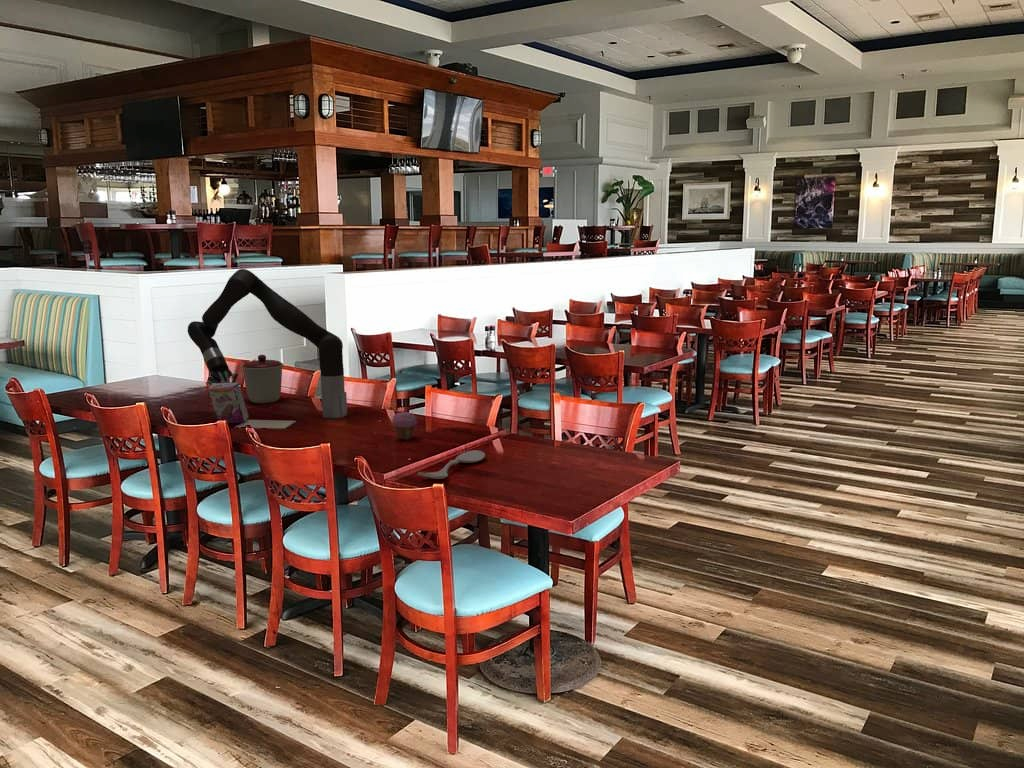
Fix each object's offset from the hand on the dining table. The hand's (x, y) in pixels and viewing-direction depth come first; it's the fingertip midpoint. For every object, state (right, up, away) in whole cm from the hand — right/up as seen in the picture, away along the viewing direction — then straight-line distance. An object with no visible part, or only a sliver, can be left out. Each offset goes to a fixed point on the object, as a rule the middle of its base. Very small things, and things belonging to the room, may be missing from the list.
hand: (230, 395), depth 324 cm
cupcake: (+72, -16, -24) cm, 77 cm away
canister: (+1, -3, +43) cm, 43 cm away
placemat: (+14, -12, -1) cm, 18 cm away
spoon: (+93, -23, -63) cm, 115 cm away
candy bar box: (+1, -10, +2) cm, 10 cm away
